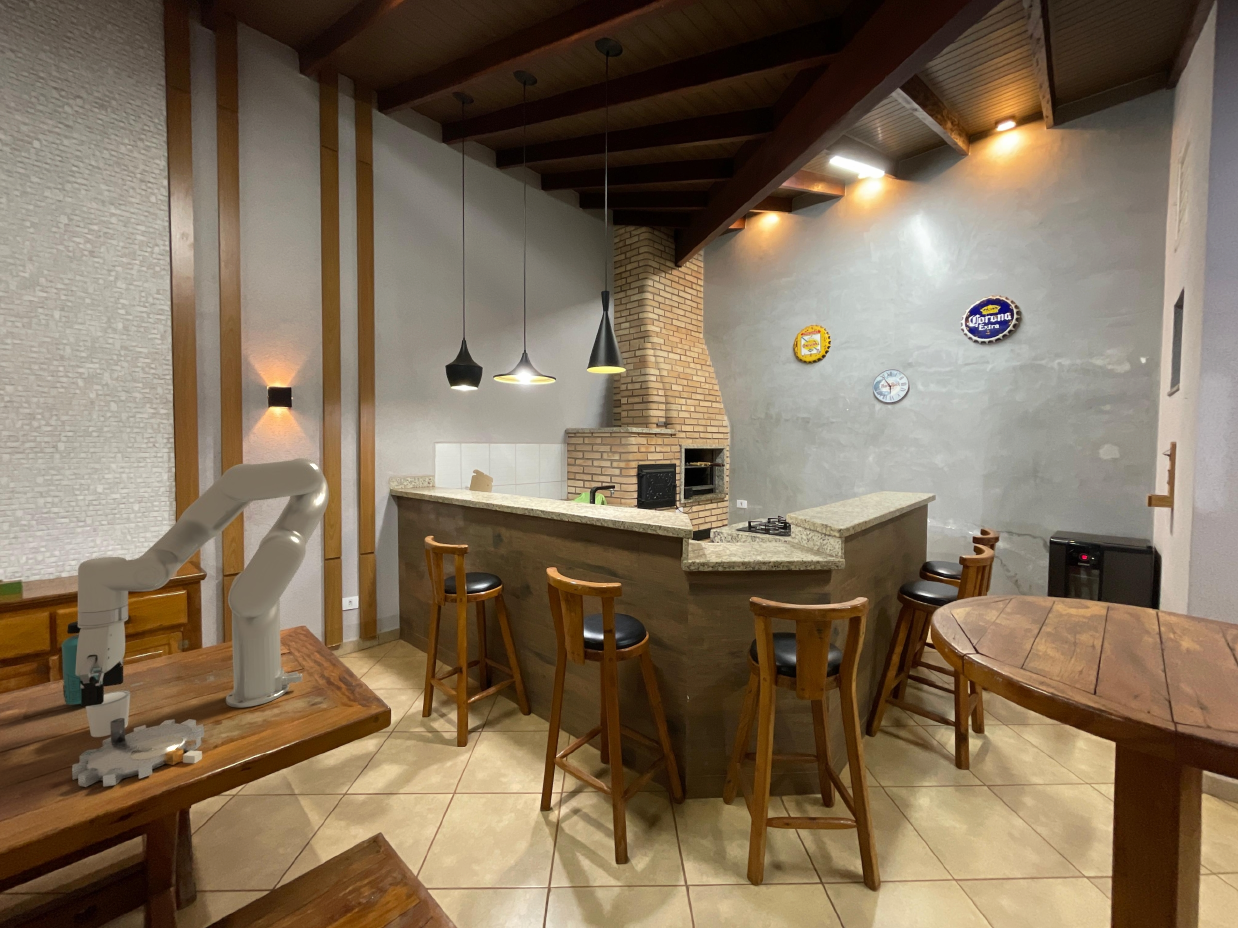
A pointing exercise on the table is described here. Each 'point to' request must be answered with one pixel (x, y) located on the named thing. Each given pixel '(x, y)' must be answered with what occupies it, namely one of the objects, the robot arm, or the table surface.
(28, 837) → the table surface
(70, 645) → the beverage bottle
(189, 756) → the block
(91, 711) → the white cup
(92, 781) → the index wheel
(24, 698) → the table surface
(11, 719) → the table surface
